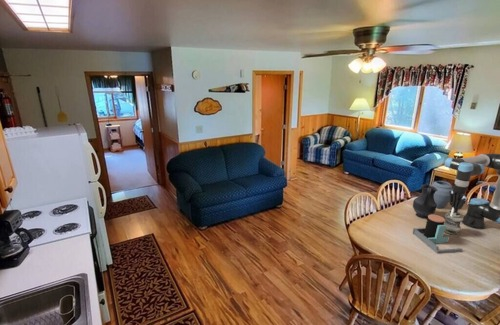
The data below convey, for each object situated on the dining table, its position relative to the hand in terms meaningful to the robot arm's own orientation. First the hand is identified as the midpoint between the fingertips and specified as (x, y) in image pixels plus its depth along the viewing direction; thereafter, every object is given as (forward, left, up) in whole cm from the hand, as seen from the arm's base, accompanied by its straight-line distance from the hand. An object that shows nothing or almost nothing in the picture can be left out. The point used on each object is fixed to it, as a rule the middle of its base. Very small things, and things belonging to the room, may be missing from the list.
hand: (452, 216), depth 189 cm
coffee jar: (0, -12, -27) cm, 29 cm away
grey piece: (+1, -8, -26) cm, 28 cm away
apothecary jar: (-20, -18, -27) cm, 38 cm away
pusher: (+1, -6, -26) cm, 27 cm away
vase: (-44, -60, -27) cm, 79 cm away
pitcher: (-15, -43, -27) cm, 53 cm away
